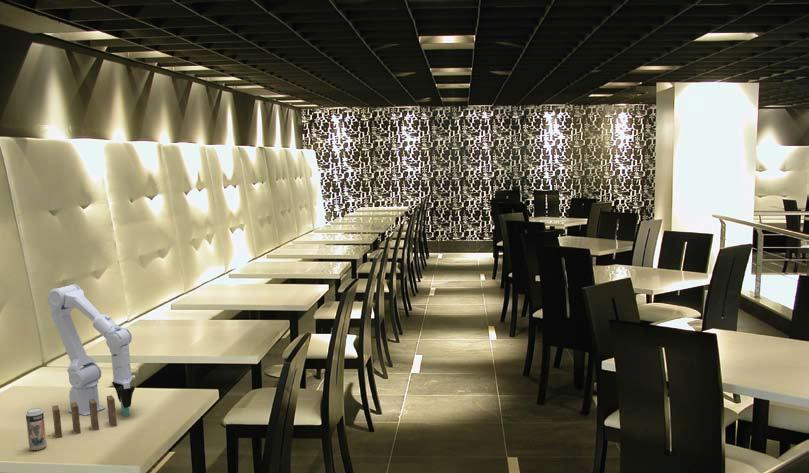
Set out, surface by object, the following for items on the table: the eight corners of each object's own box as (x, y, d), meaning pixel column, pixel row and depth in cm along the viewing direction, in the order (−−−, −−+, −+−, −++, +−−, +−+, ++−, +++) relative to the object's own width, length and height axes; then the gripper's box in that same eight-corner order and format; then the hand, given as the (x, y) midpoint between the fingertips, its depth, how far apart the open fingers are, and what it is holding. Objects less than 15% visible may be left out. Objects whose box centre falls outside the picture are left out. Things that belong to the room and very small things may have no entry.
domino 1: (56, 438, 246) (53, 410, 245) (54, 433, 250) (52, 406, 249) (62, 437, 247) (59, 409, 246) (60, 432, 251) (57, 405, 250)
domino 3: (93, 430, 251) (91, 403, 250) (91, 426, 256) (88, 399, 255) (99, 429, 252) (96, 402, 251) (96, 425, 256) (94, 398, 255)
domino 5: (124, 416, 264) (122, 390, 263) (121, 412, 268) (119, 387, 267) (129, 415, 264) (127, 389, 263) (126, 411, 269) (124, 386, 268)
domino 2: (75, 434, 249) (72, 407, 248) (73, 429, 253) (70, 402, 252) (80, 433, 249) (78, 405, 248) (78, 428, 254) (76, 401, 253)
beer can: (29, 452, 235) (25, 414, 233) (29, 447, 239) (25, 409, 237) (47, 449, 237) (43, 410, 235) (46, 444, 241) (42, 406, 240)
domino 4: (111, 426, 254) (109, 400, 253) (108, 422, 258) (106, 396, 257) (116, 425, 255) (114, 399, 254) (114, 421, 259) (111, 395, 258)
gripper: (138, 367, 260) (141, 407, 262) (129, 358, 272) (132, 396, 274) (115, 371, 256) (119, 411, 258) (108, 362, 269) (111, 400, 271)
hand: (124, 404), depth 266 cm, fingers open, 7 cm apart
